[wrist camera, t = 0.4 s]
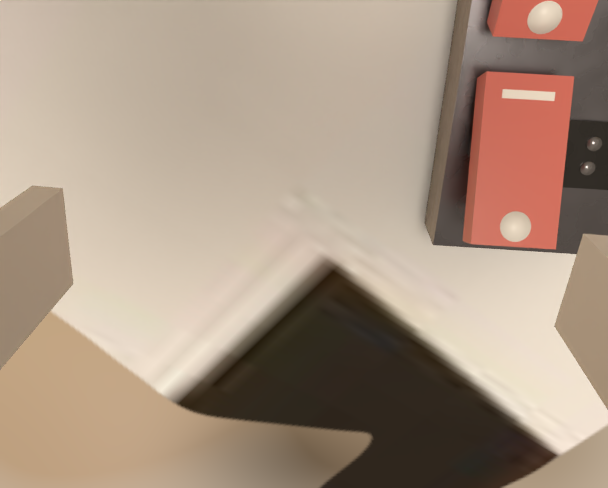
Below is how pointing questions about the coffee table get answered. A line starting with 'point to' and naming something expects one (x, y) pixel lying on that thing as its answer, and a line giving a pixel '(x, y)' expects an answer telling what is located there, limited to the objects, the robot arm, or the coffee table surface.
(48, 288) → the robot arm
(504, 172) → the plate
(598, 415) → the coffee table surface
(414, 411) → the coffee table surface
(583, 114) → the power strip
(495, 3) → the rocker
